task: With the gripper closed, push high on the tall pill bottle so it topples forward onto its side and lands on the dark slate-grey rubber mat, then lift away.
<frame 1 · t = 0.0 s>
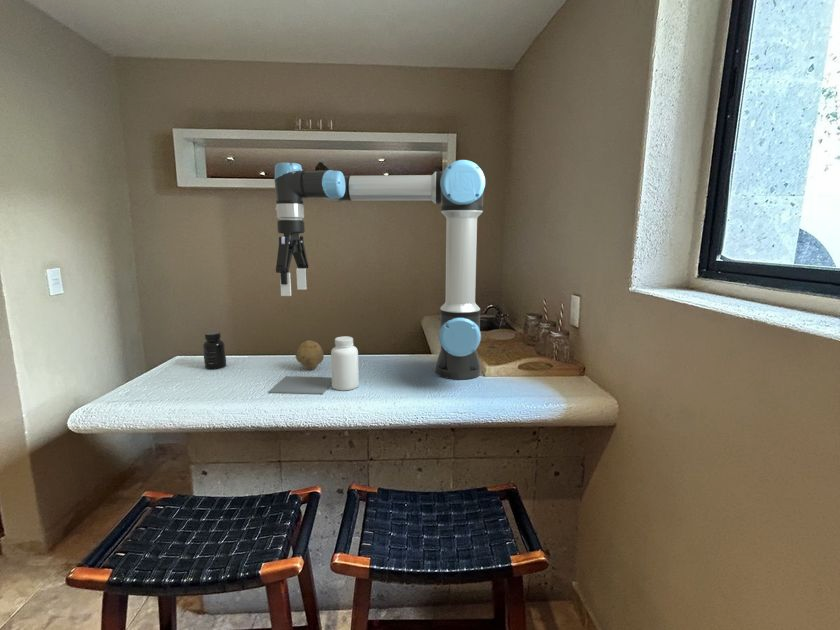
hand: (294, 292, 134), 28 cm above the countertop, tool pointing down, fingers open, 13 cm apart
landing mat: (303, 385, 136), on the countertop
supplement bottle: (215, 367, 155), on the countertop
natural sponge: (309, 369, 152), on the countertop
pill bottle: (345, 387, 136), on the countertop
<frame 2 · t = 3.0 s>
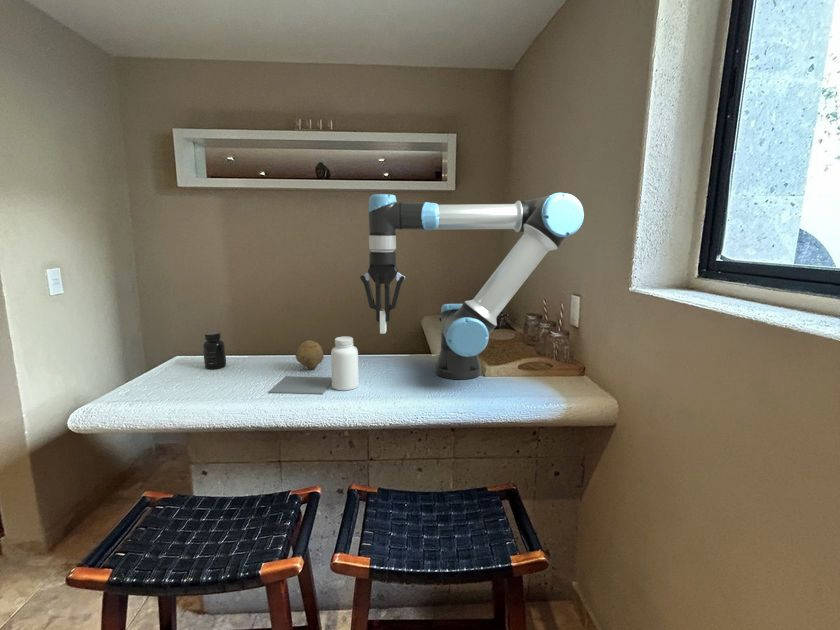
hand: (383, 332, 131), 17 cm above the countertop, tool pointing down, fingers closed
nothing on the countertop moved.
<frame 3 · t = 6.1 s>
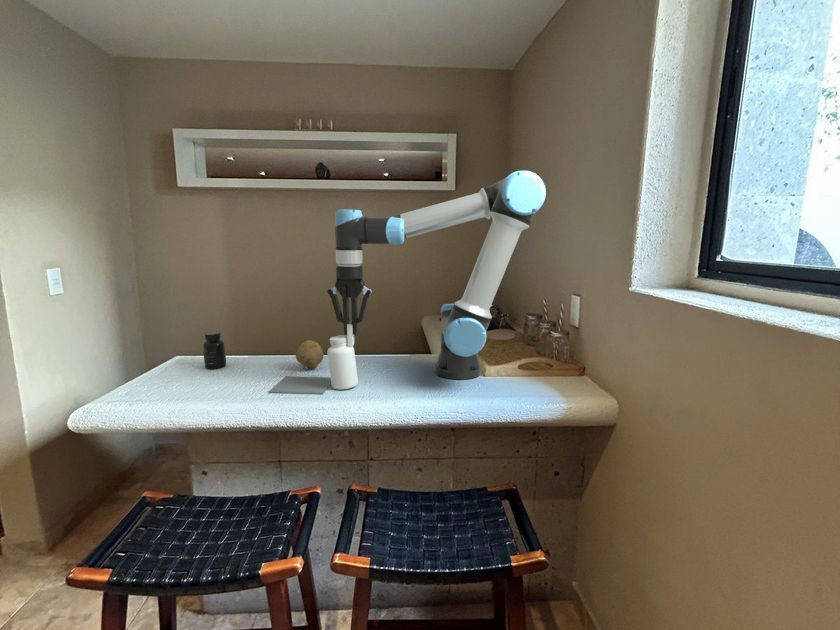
hand: (350, 345, 133), 13 cm above the countertop, tool pointing down, fingers closed
pill bottle: (345, 386, 135), on the countertop, touching gripper
everything else where it was.
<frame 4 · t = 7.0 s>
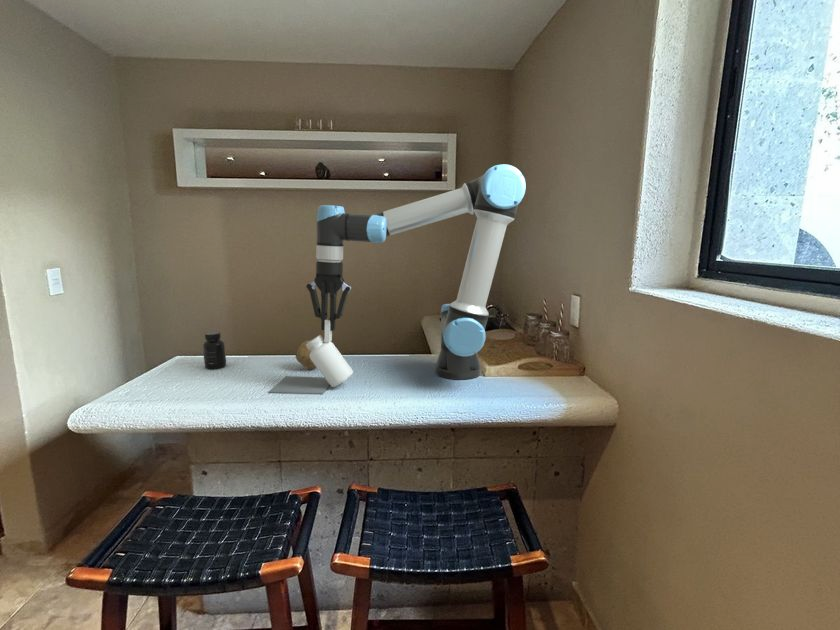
hand: (328, 341, 133), 14 cm above the countertop, tool pointing down, fingers closed
pill bottle: (343, 380, 135), point 2 cm above the countertop, touching gripper
everything else where it was.
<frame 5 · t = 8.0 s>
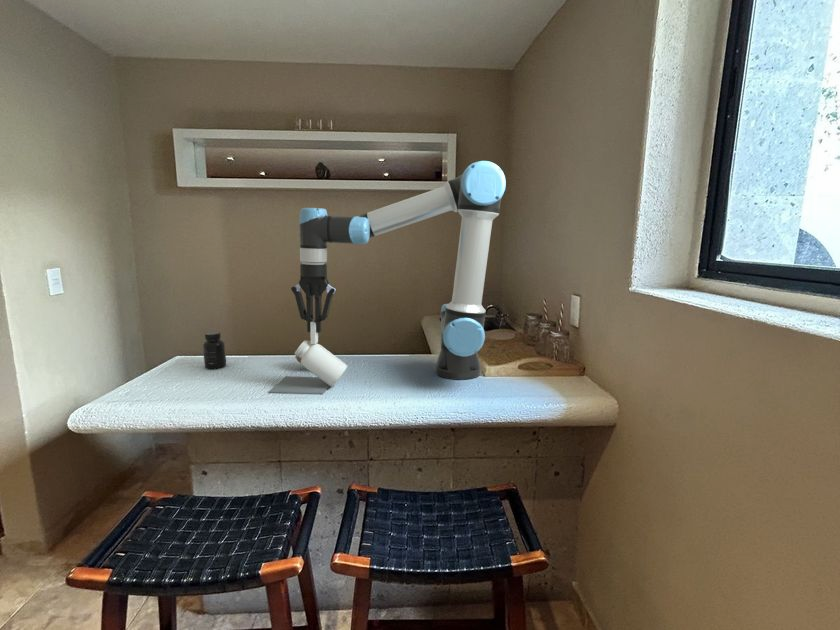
hand: (314, 342, 133), 13 cm above the countertop, tool pointing down, fingers closed
pill bottle: (340, 377, 135), point 3 cm above the countertop, touching gripper
everything else where it was.
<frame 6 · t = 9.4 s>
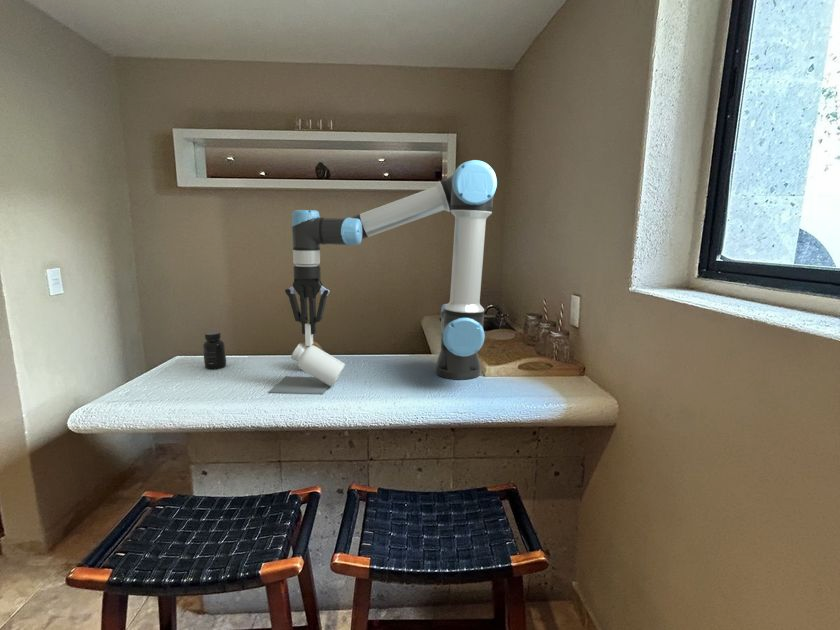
hand: (309, 344, 134), 13 cm above the countertop, tool pointing down, fingers closed
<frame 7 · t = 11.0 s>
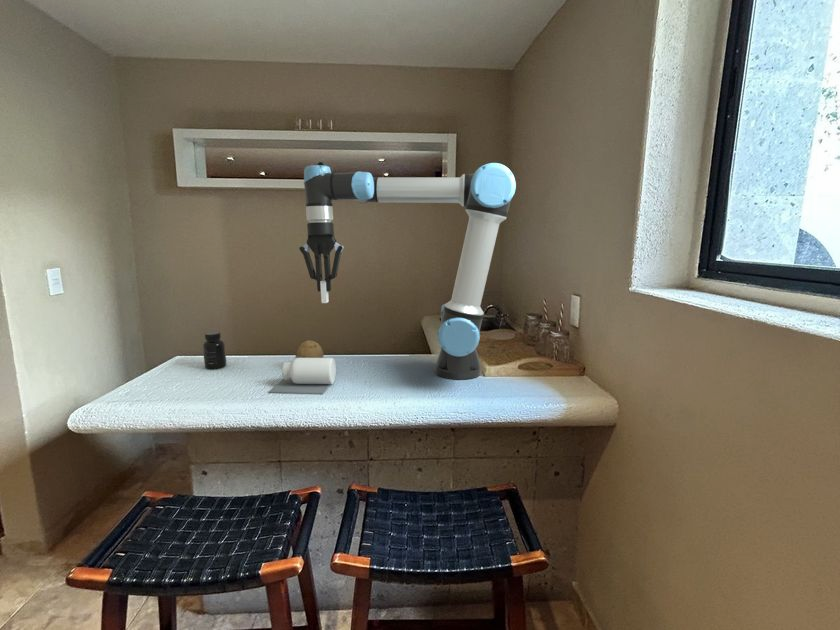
hand: (325, 302, 135), 25 cm above the countertop, tool pointing down, fingers closed
pill bottle: (334, 370, 136), point 4 cm above the countertop, touching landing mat
everything else where it was.
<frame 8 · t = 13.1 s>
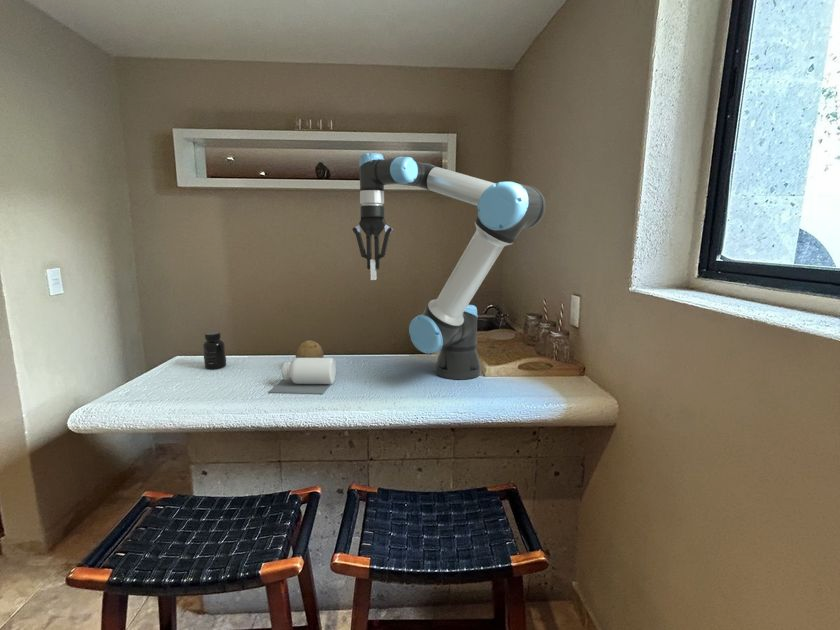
hand: (373, 279, 147), 30 cm above the countertop, tool pointing down, fingers closed
nothing on the countertop moved.
at the end: pill bottle tilted 91°; pill bottle touching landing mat; pill bottle inside the target area (4.5 cm from its centre), point 4.4 cm above the countertop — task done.
